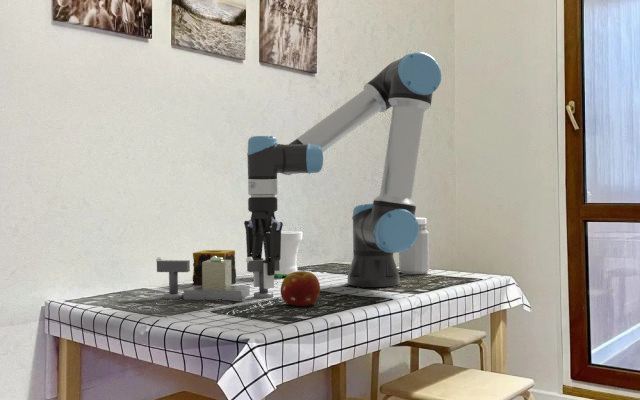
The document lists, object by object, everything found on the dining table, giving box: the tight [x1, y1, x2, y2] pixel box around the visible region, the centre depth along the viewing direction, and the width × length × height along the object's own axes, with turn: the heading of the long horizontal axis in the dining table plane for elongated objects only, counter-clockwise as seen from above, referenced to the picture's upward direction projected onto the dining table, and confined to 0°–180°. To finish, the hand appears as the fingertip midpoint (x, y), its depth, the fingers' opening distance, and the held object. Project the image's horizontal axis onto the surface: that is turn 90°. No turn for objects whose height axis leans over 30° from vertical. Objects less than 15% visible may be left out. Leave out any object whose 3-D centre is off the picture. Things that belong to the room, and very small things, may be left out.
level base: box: [183, 256, 251, 301], centre depth 175 cm, size 15×9×11 cm, turn 83°
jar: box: [398, 217, 430, 275], centre depth 222 cm, size 10×10×18 cm
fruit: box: [280, 270, 321, 307], centre depth 162 cm, size 10×9×8 cm
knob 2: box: [245, 257, 280, 299], centre depth 174 cm, size 8×5×10 cm, turn 111°
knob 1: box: [155, 256, 191, 300], centre depth 174 cm, size 8×5×10 cm, turn 83°
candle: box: [192, 249, 237, 286], centre depth 197 cm, size 10×10×10 cm
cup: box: [269, 230, 304, 279], centre depth 215 cm, size 11×11×14 cm
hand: (263, 287), depth 174 cm, fingers closed on knob 2, 4 cm apart
